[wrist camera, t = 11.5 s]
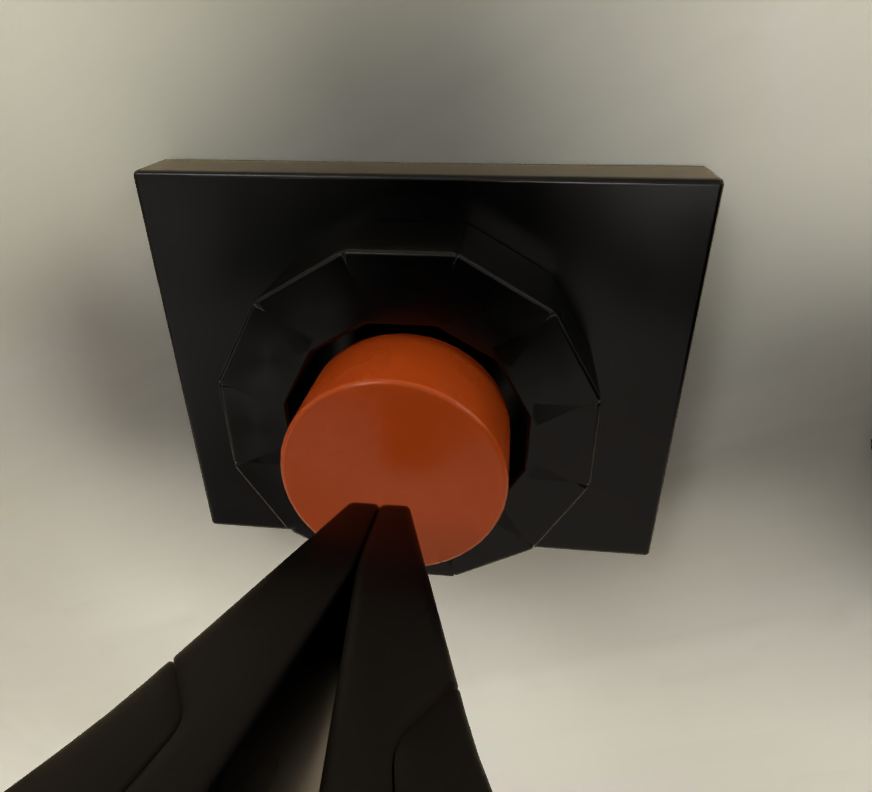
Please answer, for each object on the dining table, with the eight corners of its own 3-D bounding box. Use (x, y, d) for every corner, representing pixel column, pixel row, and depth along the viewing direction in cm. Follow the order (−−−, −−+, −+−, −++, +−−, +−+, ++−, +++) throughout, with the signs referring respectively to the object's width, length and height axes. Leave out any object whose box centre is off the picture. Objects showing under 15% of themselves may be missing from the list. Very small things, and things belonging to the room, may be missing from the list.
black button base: (707, 165, 11) (762, 207, 9) (640, 521, 15) (665, 622, 13) (162, 158, 12) (68, 194, 10) (231, 493, 16) (176, 581, 14)
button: (515, 335, 11) (514, 387, 9) (505, 509, 12) (503, 577, 11) (299, 326, 11) (263, 375, 9) (319, 496, 13) (292, 561, 11)
